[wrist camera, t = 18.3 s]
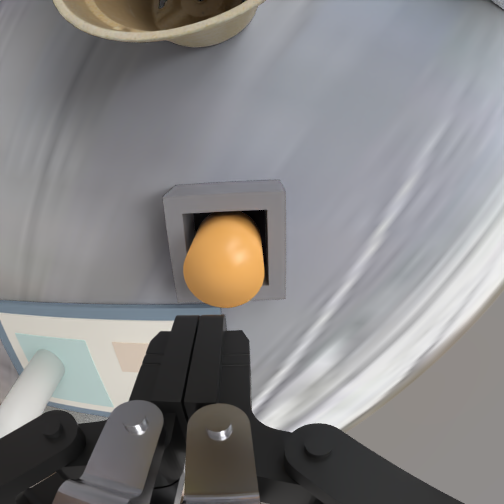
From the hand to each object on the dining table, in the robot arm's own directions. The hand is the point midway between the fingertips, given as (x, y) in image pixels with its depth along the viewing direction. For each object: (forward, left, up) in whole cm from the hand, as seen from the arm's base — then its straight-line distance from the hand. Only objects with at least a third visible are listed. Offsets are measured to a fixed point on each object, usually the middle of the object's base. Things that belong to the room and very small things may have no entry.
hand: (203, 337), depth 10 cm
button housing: (0, 0, -10) cm, 10 cm away
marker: (+17, +11, -9) cm, 22 cm away
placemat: (+12, +12, -10) cm, 19 cm away
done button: (0, 0, -9) cm, 9 cm away
